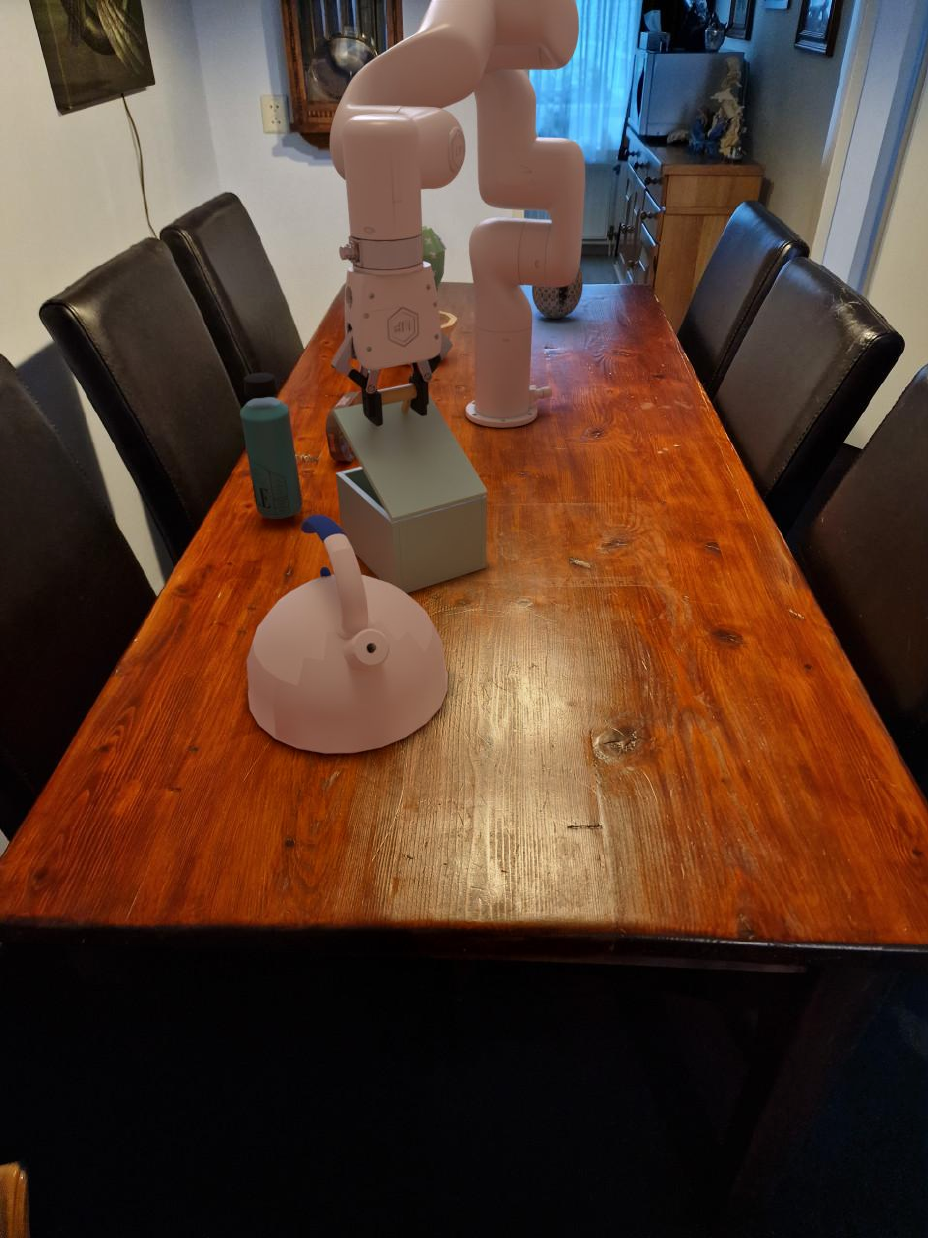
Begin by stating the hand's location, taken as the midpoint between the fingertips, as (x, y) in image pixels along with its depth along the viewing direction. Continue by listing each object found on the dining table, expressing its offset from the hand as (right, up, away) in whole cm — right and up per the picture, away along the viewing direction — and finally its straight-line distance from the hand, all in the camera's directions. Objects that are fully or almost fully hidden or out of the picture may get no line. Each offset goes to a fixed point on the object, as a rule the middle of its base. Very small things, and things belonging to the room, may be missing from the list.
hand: (396, 415), depth 96 cm
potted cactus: (-1, +30, +73) cm, 79 cm away
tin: (-10, +3, +35) cm, 37 cm away
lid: (+1, -5, 0) cm, 5 cm away
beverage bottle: (-17, -10, +17) cm, 26 cm away
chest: (+1, -16, +9) cm, 18 cm away
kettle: (-4, -31, -13) cm, 34 cm away
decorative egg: (+30, +47, +98) cm, 113 cm away
